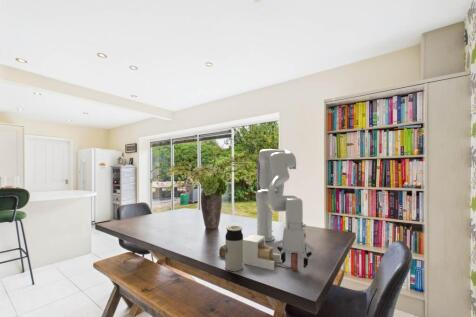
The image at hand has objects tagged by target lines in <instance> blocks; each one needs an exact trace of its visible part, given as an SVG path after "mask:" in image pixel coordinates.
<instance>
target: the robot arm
mask: <svg viewBox="0 0 476 317" xmlns="http://www.w3.org/2000/svg"><path fill="white" fill-rule="evenodd" d="M258 162H259V167H260V168H259V169H260V170H259V186H260V187H261V188H262V189H259V190H257V191H256V193H255V201H256V209H257V210H256V213H257V214H256V230H257V231H256V235H259V236H265V242H272V241H274V240H275V236H274V235H273V219H272V218H273V212H276V213H277V212H285V226H284V227H283V234H282V239H280V240H278V241H276V242H275V246H276V248H277V250H278V251H279V254H281V264H284V263H285V262H286V259H287V258H286V254H287V253H286V252H290V253H292V252H295V253H297V254H301V255H302V256H303V257H304V258H303V268H304V269H305V268H307V266H308V265H309V258H310V256H312V254H313V253H314V251H315V247H313V246H312V245H310V244H309V243H307V236H306V230H305V228H307V224H305V223H304V222H303V221H304V220H303V216H304V215H303V214H304V213H303V211H304V210H303V206H304V205H303V200H302V199H301V198H299V197H297V196H296V195H284V189H285V183H286V182H287V181H288V180H289V179H290V173H289V169H290V168H295V166H296V164H297V159H296V156H295V154H294V153H293V152H292V151H290V150H287V149H282V148H281V149H274V148H273V149H272V148H267V149H265V148H264V149H260V151H259V152H258ZM288 168H289V169H288ZM272 211H273V212H272ZM280 244H281V245H280ZM307 249H308V250H309V252H308V251H307Z"/></svg>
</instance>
